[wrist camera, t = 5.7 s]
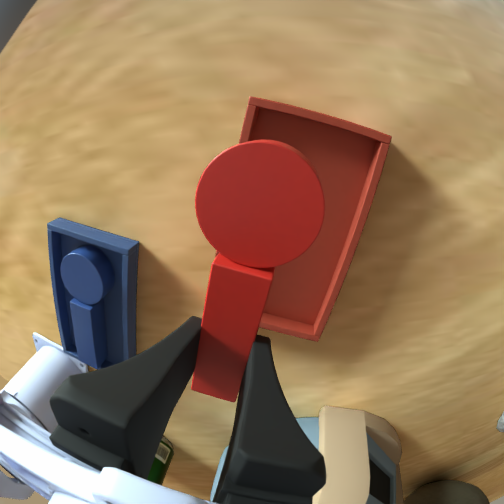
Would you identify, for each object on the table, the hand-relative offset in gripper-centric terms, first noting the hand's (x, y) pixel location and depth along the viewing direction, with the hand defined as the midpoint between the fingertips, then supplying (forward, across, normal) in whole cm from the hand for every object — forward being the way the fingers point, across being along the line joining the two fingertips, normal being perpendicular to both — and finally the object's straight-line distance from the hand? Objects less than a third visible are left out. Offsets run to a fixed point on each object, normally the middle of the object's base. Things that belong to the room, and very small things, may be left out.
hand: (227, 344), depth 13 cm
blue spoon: (+8, +12, +7) cm, 17 cm away
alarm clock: (+8, -12, +22) cm, 26 cm away
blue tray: (+8, +12, +8) cm, 17 cm away
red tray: (+8, -2, -3) cm, 9 cm away
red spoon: (+1, 0, -3) cm, 3 cm away
